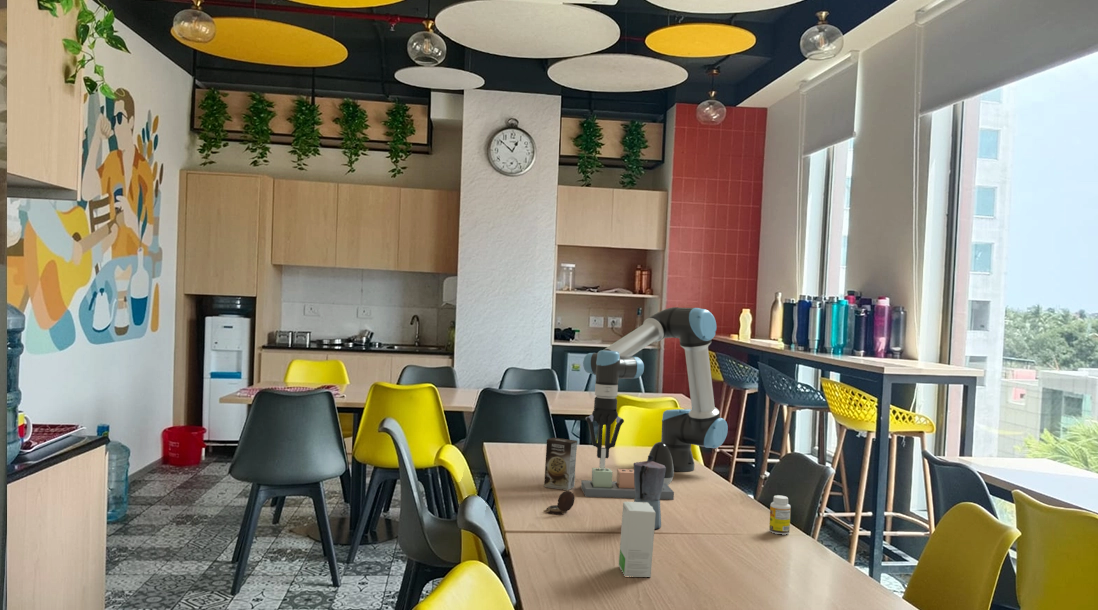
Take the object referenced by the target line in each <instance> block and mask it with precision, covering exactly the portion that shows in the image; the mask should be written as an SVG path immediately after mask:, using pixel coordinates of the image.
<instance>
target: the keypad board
mask: <svg viewBox="0 0 1098 610" xmlns="http://www.w3.org/2000/svg"><path fill="white" fill-rule="evenodd" d="M580 484H581V485H580V488H581V490H582V492H584V493H583V495H584V496H585V498H590V497H592V498H611V497H613V498H614V499H615V498H617V499H635V498H636V497H635V488H619V487H618V485H617V480H615V481H614V480H612V487H594V486H593V485H592V479H591V480H589V479H586V480H585V479H581V482H580ZM668 499H669V500H670V501H672V500H673V501H674V499H675V492H674V491H673V489H672V488H671V487H670V486H669V485H667V484H666V483H663V489H662V492H661V494H660V499H659V500H666V501H667V500H668Z"/></svg>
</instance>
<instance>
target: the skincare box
mask: <svg viewBox="0 0 1098 610" xmlns="http://www.w3.org/2000/svg"><path fill="white" fill-rule="evenodd" d="M621 513H622V515H621V525H620V526H621V529H620V540H619V541H620V542H619V554H618V555H619V556H618V567H619V570H620V571H621V570H622V571H621V573H622V572H623V573H622V575H623V574H624V575H623V577H624V576H629V577H630V576H631V577H632V576H633V577H651V578H652V568H653V567H652V564H653V562H652V561H653V551H654V539H655V516H656V512H655V511H654V510H653V507H652V506H650V504H649V503H648V502H634V501H623V502H622V512H621Z"/></svg>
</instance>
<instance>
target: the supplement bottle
mask: <svg viewBox="0 0 1098 610" xmlns="http://www.w3.org/2000/svg"><path fill="white" fill-rule="evenodd" d="M790 525H791V504H789V498H788V496H785V495H779V494H777V495H774V496H773V500H772V502H770V507H769V526H768V527H769V529H768V530H769V533H771V532H772V534H773V533H775V534H774V535H777V534H782V535H781V536H787V535H789V534H790V528H791V526H790ZM786 534H787V535H786Z"/></svg>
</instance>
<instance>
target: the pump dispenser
mask: <svg viewBox="0 0 1098 610" xmlns="http://www.w3.org/2000/svg"><path fill="white" fill-rule="evenodd" d="M649 455H651V456H653V459H652V461H653V462H656V463H659V464H662V465H664V466H665V467H666V472H665V477H664V482H663V483H666V484H667V485H668V486H669V485H670V484H671V483H672V480H673V478H674V476H675V471H674V467H673V461H672V456H671V453H670V450H669V448H668V446H667V445H666V444H665V443H663V442H661V441H659V442H656V443H654V445H653V446H652V448H651V449H650V451H649V454H648V456H649ZM646 461H648V458H647V460H646Z"/></svg>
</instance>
